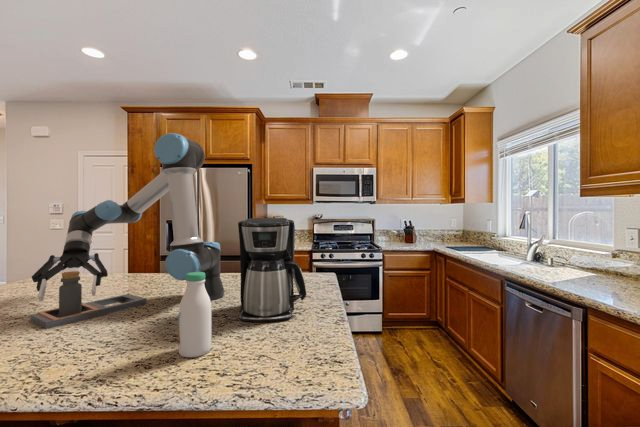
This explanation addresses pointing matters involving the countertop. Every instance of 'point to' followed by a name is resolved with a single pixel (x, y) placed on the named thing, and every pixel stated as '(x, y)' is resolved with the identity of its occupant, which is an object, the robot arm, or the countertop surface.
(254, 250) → the coffee maker
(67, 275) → the bottle
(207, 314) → the milk bottle
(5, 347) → the countertop surface
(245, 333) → the countertop surface
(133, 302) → the rail
